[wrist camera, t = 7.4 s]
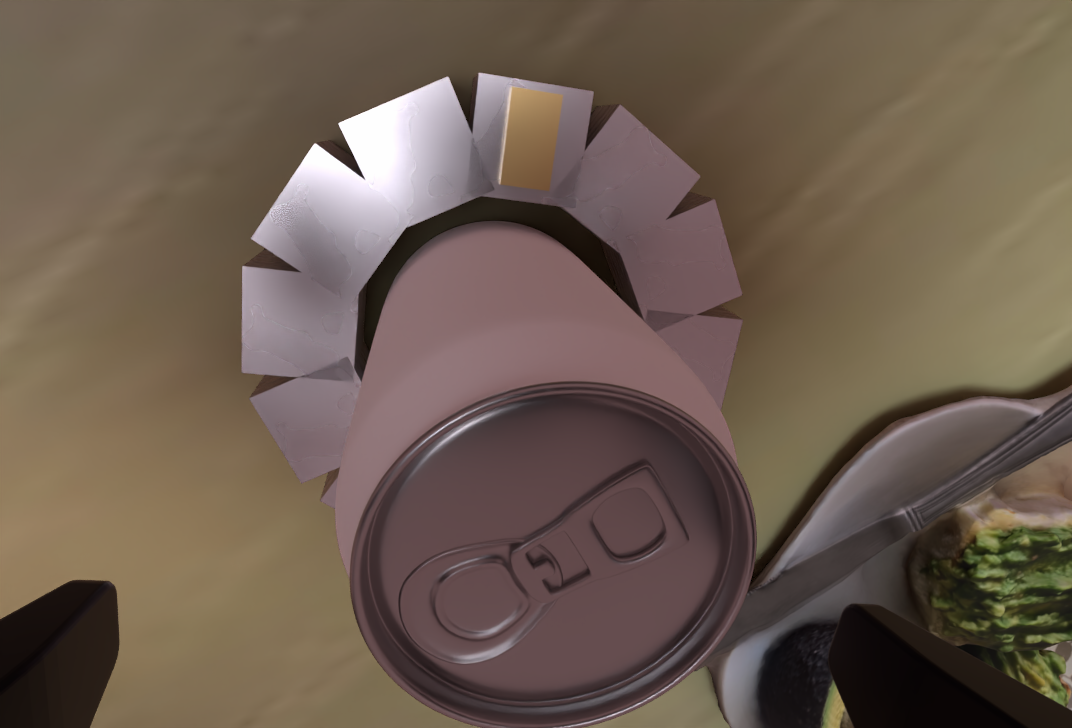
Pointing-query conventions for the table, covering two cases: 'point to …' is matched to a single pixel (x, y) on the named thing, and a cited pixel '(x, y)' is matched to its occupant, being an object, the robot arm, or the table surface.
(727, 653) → the avocado toast plate
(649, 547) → the can
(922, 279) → the table surface
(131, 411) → the table surface
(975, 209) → the table surface
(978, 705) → the robot arm
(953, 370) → the table surface
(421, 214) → the toothed ring
